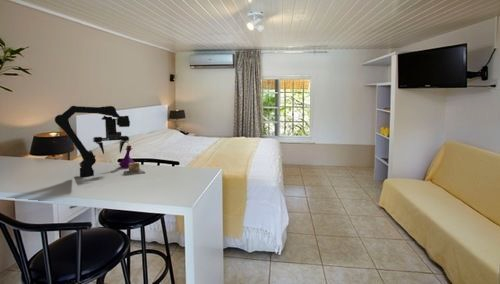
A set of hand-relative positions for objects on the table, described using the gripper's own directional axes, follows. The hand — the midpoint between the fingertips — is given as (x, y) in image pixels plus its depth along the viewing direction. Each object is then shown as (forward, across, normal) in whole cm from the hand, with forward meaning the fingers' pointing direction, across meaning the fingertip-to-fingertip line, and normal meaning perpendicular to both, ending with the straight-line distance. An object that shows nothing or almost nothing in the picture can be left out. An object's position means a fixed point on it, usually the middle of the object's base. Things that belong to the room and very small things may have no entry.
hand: (112, 153), depth 176 cm
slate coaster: (+12, +11, -6) cm, 17 cm away
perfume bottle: (+12, +11, +13) cm, 21 cm away
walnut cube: (+11, +11, -6) cm, 17 cm away
